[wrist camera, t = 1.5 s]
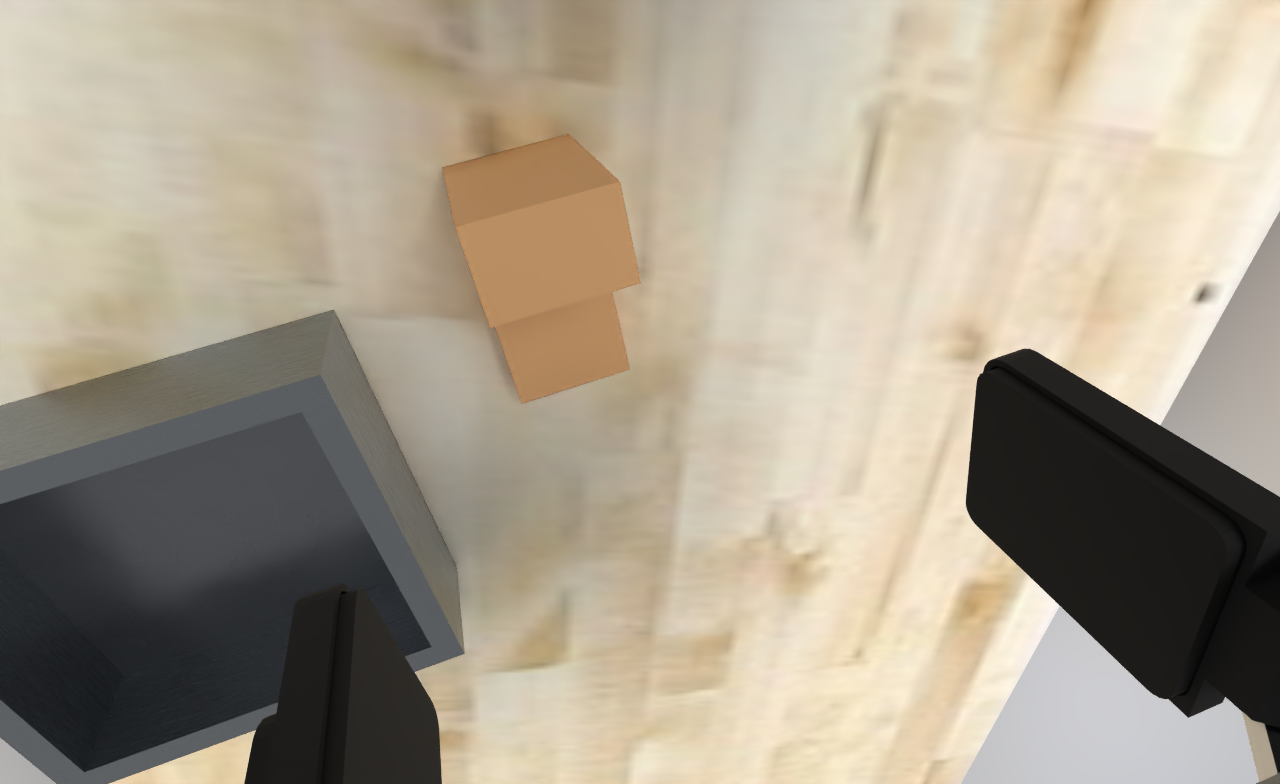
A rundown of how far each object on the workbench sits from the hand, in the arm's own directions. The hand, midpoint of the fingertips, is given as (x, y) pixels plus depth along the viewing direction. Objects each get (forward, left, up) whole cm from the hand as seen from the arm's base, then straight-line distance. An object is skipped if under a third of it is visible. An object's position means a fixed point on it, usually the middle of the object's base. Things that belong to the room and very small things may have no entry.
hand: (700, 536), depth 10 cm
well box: (+9, -15, -18) cm, 25 cm away
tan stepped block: (+3, 0, -18) cm, 18 cm away
